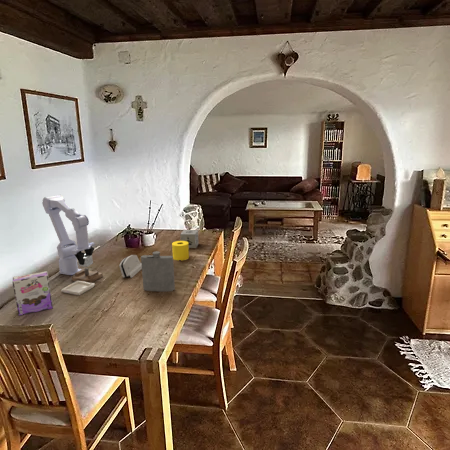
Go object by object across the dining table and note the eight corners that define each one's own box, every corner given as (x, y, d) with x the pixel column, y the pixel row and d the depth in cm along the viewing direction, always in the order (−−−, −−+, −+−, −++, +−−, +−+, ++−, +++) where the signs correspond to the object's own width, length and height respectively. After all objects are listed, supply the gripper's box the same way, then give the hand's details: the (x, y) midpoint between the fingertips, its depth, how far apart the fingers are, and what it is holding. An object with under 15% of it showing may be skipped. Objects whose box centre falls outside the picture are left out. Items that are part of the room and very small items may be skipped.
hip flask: (175, 288, 178) (173, 251, 172) (173, 292, 174) (171, 253, 168) (144, 287, 179) (141, 250, 174) (142, 291, 175) (139, 253, 170)
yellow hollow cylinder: (187, 260, 215) (187, 245, 212) (171, 260, 215) (170, 245, 213) (189, 254, 225) (189, 240, 222) (174, 254, 225) (173, 240, 222)
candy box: (18, 316, 153) (11, 281, 149) (18, 310, 158) (12, 276, 154) (53, 308, 159) (47, 274, 155) (52, 303, 164) (47, 270, 160)
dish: (61, 292, 175) (61, 289, 175) (78, 283, 185) (77, 280, 185) (79, 295, 172) (78, 292, 171) (94, 286, 182) (94, 283, 181)
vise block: (70, 280, 189) (69, 270, 188) (83, 273, 198) (82, 264, 197) (89, 283, 184) (88, 274, 183) (102, 276, 193) (101, 267, 192)
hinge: (131, 278, 191) (124, 261, 189) (124, 280, 192) (116, 263, 190) (144, 266, 206) (137, 251, 205) (137, 268, 208) (130, 253, 206)
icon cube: (184, 243, 246) (183, 229, 244) (198, 243, 245) (198, 230, 243) (181, 248, 237) (180, 234, 234) (195, 248, 236) (195, 234, 233)
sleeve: (78, 265, 188) (77, 256, 186) (85, 262, 192) (84, 253, 191) (86, 267, 186) (85, 258, 184) (92, 263, 190) (91, 254, 189)
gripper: (78, 243, 177) (81, 268, 181) (98, 235, 190) (100, 258, 194) (67, 242, 180) (70, 266, 183) (87, 234, 193) (90, 257, 196)
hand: (85, 262), depth 189 cm, fingers closed on sleeve, 5 cm apart
